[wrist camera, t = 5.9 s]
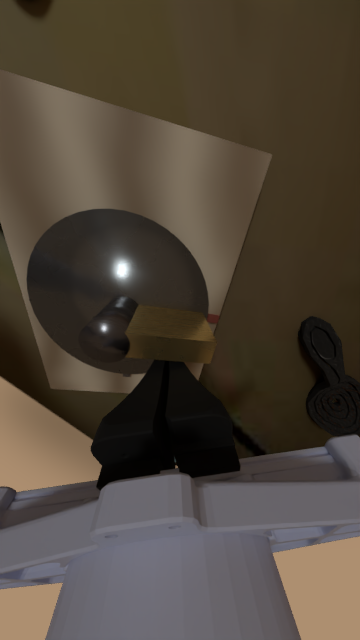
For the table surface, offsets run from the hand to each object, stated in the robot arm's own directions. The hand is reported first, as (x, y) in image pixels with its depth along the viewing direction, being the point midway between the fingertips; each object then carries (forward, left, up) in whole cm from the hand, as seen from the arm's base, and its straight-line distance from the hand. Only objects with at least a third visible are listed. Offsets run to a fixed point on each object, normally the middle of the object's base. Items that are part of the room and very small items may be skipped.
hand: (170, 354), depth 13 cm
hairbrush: (+23, -5, -4) cm, 24 cm away
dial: (-4, +3, -2) cm, 5 cm away
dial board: (-4, +3, -4) cm, 6 cm away
